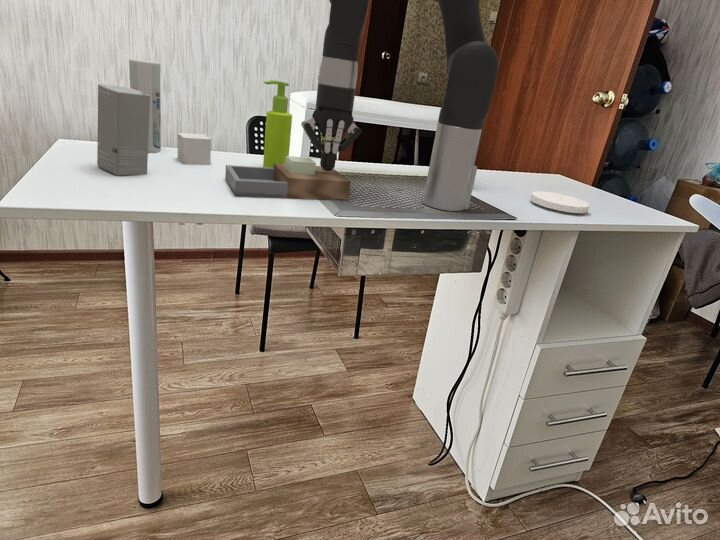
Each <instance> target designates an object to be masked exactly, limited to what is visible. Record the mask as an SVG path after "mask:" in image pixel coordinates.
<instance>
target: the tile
mask: <svg viewBox="0 0 720 540" xmlns="http://www.w3.org/2000/svg"><path fill="white" fill-rule="evenodd" d="M316 166H317V162H316V161H314V160H313V159H312V158H310V157H306V156H294V155H293V156H292V155H289V156H286V161H285V168H286V169H287V170H288V171H289V172H290V173H291V174H307V175H315V167H316Z"/></svg>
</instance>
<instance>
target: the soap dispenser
mask: <svg viewBox="0 0 720 540" xmlns="http://www.w3.org/2000/svg"><path fill="white" fill-rule="evenodd" d="M263 83H264V84H265V85H277V93H276V95H273V96H272V97H273V98H272V109H271V110H269V111H268V110H267V111H266V117H265V118H266V120H265V131H264V134H265V135H264V148H263V161H262V162H263V163H262V167H267V168H273V165H274V163H277V164H285V161H286V156H290V145H291V134H292V123H293V114H292V113H289V112H288V105H289V98H287V96H285V95H286V87H290V84H289V83H288V82H284V81H278V80H264V81H263Z"/></svg>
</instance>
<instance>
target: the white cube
mask: <svg viewBox="0 0 720 540" xmlns="http://www.w3.org/2000/svg"><path fill="white" fill-rule="evenodd" d="M211 150H212V139H211V138H210V137H208V136H207V135H206V134H205V133H188V132H187V133H183V132H177V160H178V161H179V162H180V163H181V164H182V165H185V166H186V165H189V166H191V165H192V166H193V165H195V166H197V165H198V166H211V158H212V157H211V154H212V153H211V152H212V151H211Z"/></svg>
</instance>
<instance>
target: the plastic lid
mask: <svg viewBox="0 0 720 540" xmlns="http://www.w3.org/2000/svg"><path fill="white" fill-rule="evenodd" d="M529 200H530V202H532V203H534V204H536V205H539V206H541V207H544V208H548V209H551V210H556V211H561V212H565V213H572V214H586V213H588V212H589V209H590V207H591V205H590V203H588V202H586V201H584V200H582V199H579V198H578V197H573V196H570V195H566V194H564V193H563V194H562V193H558V192H557V193H556V192H552V191H540V190H539V191H532V192H531V195H530V198H529Z"/></svg>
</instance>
